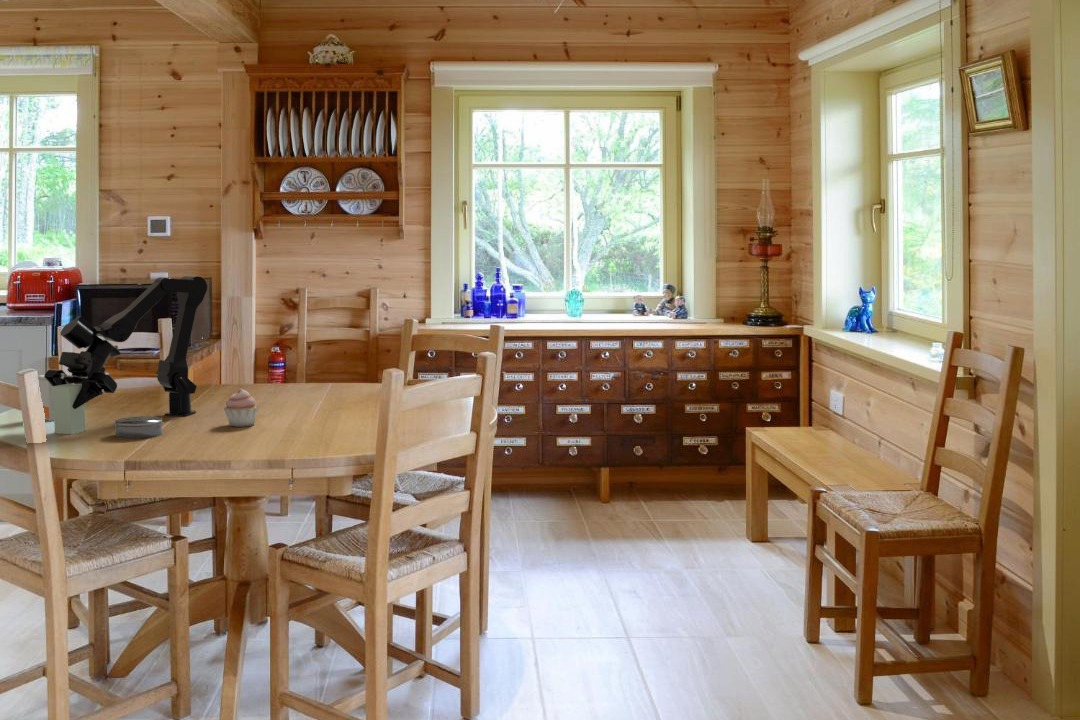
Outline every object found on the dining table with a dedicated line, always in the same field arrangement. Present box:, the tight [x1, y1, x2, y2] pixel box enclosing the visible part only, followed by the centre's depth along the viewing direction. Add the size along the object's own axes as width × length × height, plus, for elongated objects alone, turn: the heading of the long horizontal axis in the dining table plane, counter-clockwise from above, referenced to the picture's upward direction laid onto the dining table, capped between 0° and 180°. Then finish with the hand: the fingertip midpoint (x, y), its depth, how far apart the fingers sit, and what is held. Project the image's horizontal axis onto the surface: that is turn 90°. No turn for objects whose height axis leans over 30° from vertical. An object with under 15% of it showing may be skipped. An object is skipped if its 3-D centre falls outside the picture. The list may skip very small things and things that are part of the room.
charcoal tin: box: [114, 415, 163, 440], centre depth 255 cm, size 11×11×4 cm
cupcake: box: [222, 387, 260, 428], centre depth 269 cm, size 9×9×10 cm
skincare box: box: [37, 374, 54, 422], centre depth 275 cm, size 6×4×12 cm
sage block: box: [53, 384, 86, 435], centre depth 257 cm, size 5×5×12 cm
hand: (65, 407), depth 256 cm, fingers closed on sage block, 5 cm apart
